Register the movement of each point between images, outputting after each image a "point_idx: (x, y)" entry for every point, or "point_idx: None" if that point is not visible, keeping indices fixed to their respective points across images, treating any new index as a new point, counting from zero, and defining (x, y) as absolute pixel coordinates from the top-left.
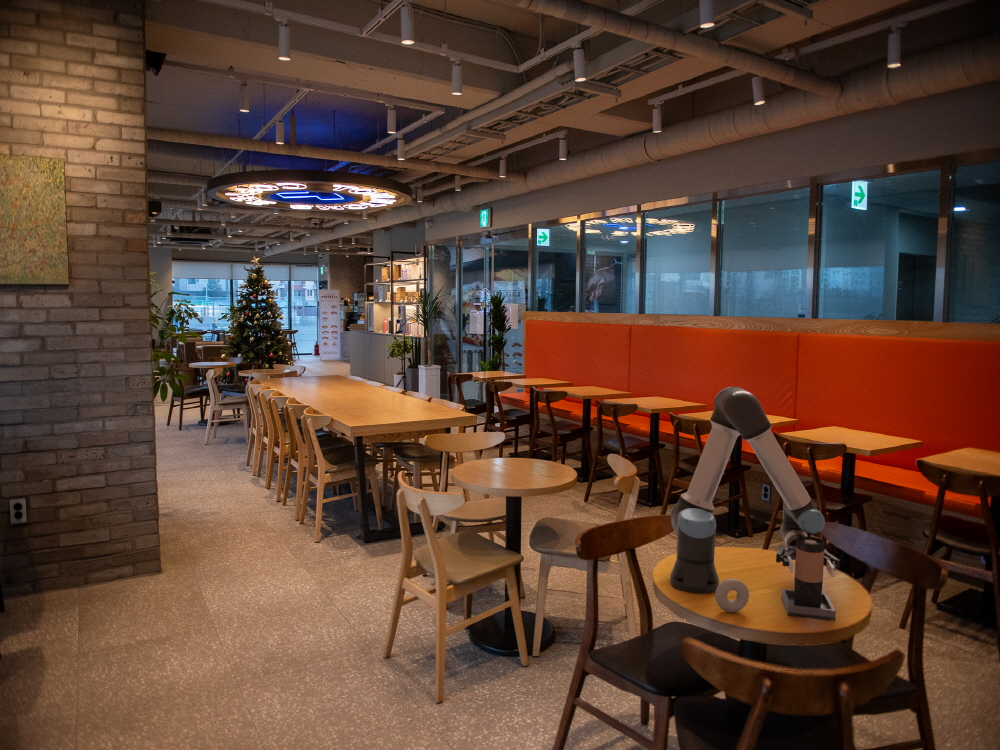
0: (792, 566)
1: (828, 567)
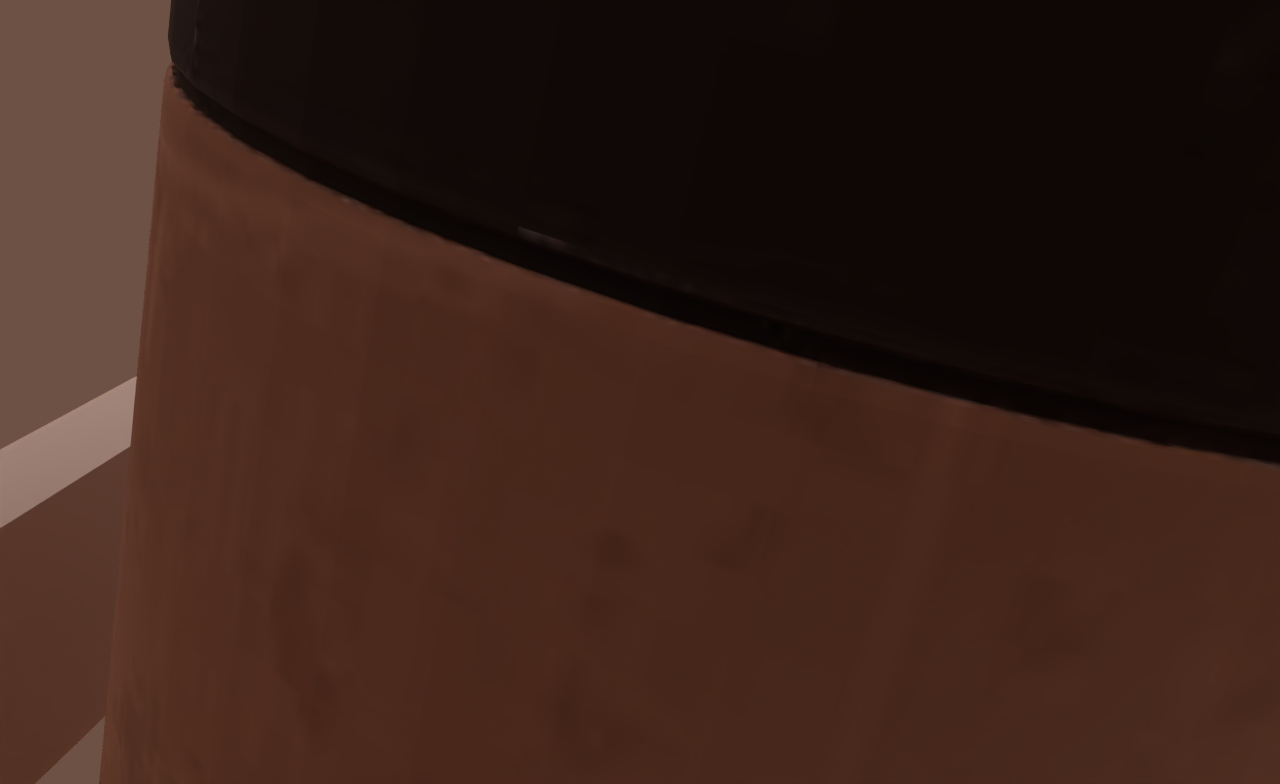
0: None
1: (22, 670)
